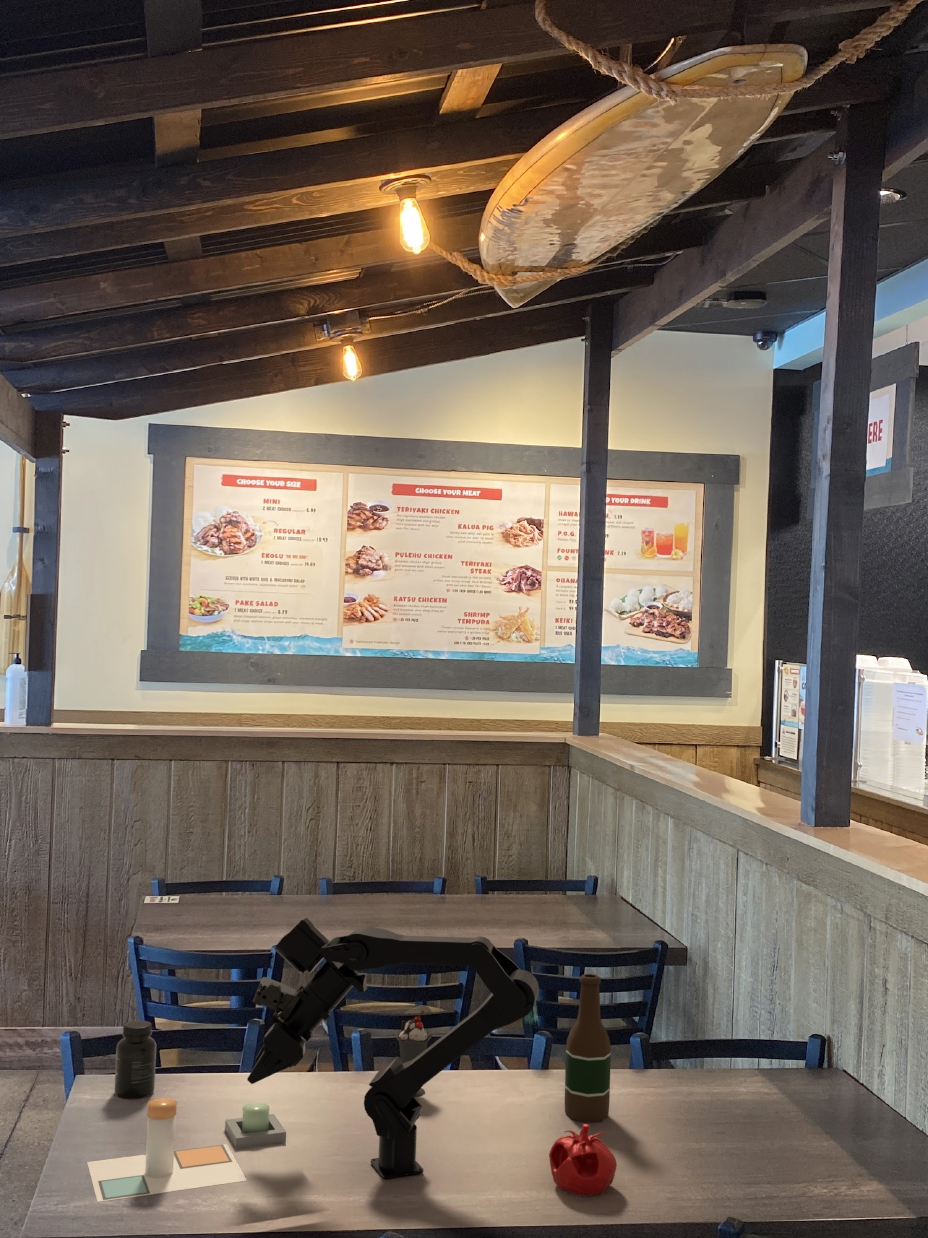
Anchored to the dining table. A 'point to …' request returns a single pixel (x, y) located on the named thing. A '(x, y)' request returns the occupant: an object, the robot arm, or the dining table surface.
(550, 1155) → the pomegranate
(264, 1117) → the button
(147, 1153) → the marker
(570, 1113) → the beer bottle
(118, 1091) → the supplement bottle
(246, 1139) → the button housing
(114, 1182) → the colouring mat
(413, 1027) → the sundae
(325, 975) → the robot arm
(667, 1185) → the dining table surface
